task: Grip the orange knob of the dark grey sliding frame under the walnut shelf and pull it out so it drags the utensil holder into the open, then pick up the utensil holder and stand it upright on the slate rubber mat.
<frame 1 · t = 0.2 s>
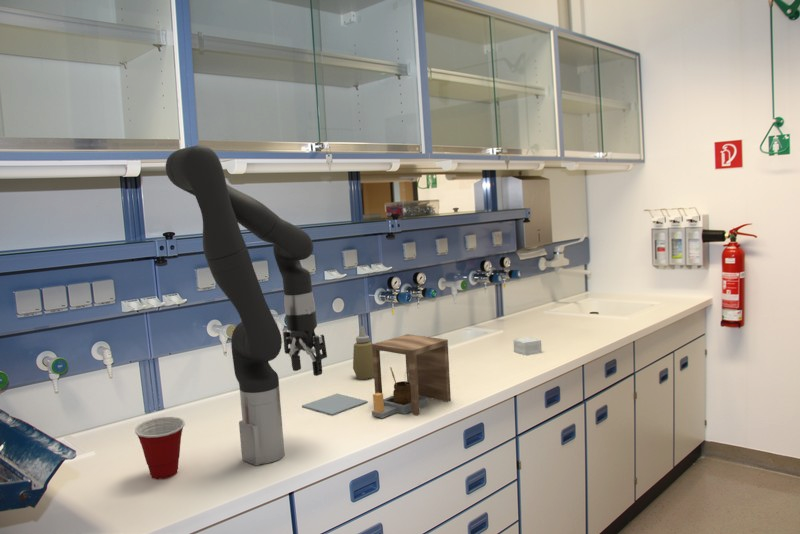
hand: (307, 372, 159), 17 cm above the countertop, tool pointing down, fingers open, 8 cm apart
plastic cup: (164, 475, 143), on the countertop
slate mat: (334, 404, 187), on the countertop
squeeze bottle: (365, 378, 215), on the countertop
walnut shelf: (403, 407, 181), on the countertop
small box: (527, 353, 237), on the countertop
sliding frame: (395, 398, 179), point 3 cm above the countertop, slide at 0.0 cm
utensil holder: (403, 407, 181), resting in sliding frame
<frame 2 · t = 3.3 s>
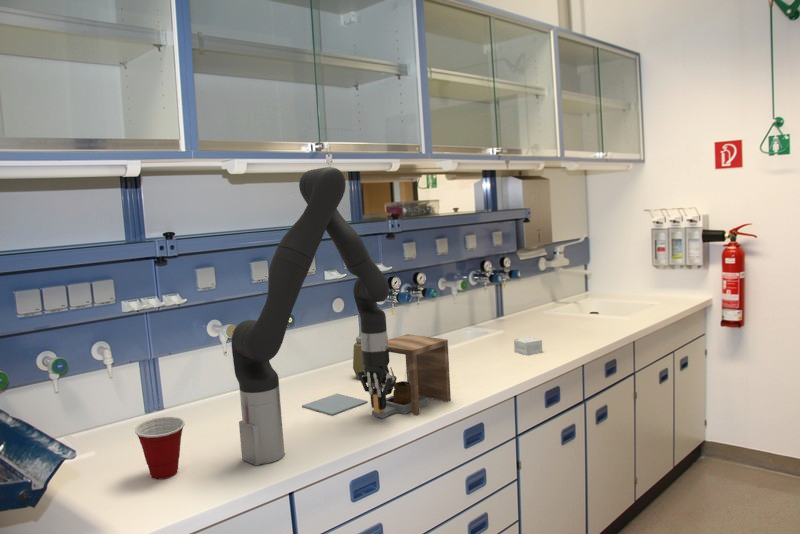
hand: (378, 407, 174), 3 cm above the countertop, tool pointing down, fingers closed on sliding frame, 2 cm apart
sliding frame: (395, 398, 179), point 3 cm above the countertop, slide at 0.0 cm, touching gripper
everything else where it was.
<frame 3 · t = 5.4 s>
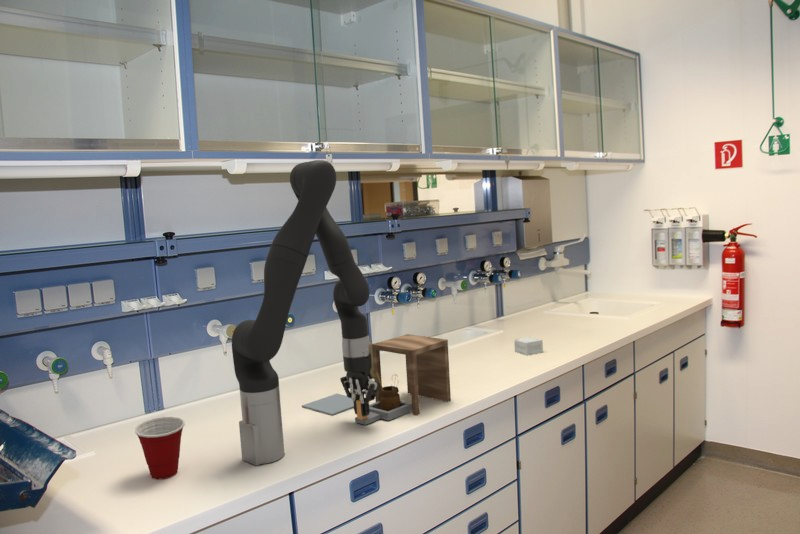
hand: (362, 414, 169), 3 cm above the countertop, tool pointing down, fingers closed on sliding frame, 2 cm apart
sliding frame: (380, 404, 174), point 3 cm above the countertop, slide at 6.4 cm, touching gripper, utensil holder
utensil holder: (390, 413, 177), resting in sliding frame
everything else where it was.
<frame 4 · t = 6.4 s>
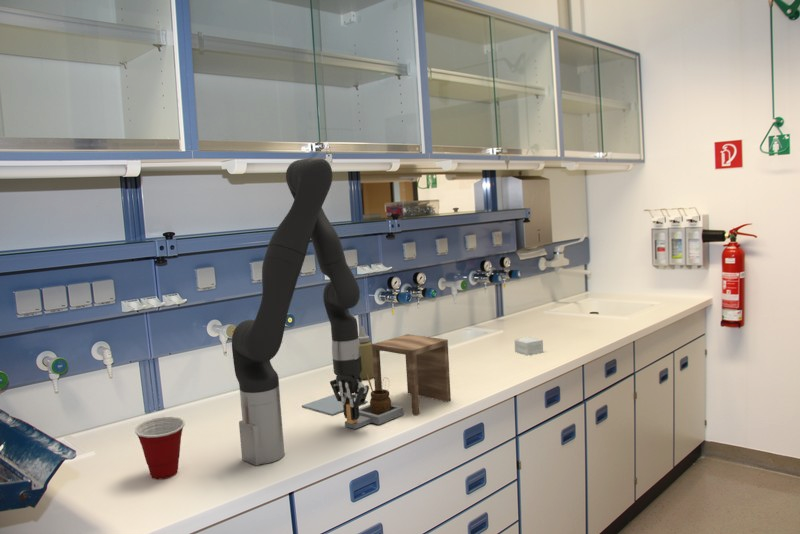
hand: (351, 418, 166), 3 cm above the countertop, tool pointing down, fingers closed on sliding frame, 2 cm apart
sliding frame: (370, 408, 171), point 3 cm above the countertop, slide at 10.2 cm, touching gripper, utensil holder
utensil holder: (380, 416, 174), resting in sliding frame
everything else where it was.
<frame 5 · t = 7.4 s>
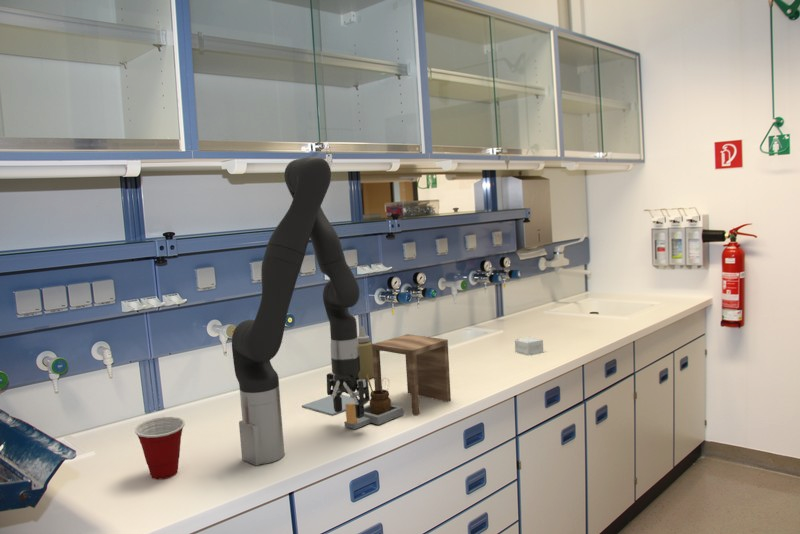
hand: (349, 414, 166), 4 cm above the countertop, tool pointing down, fingers open, 8 cm apart
sliding frame: (370, 408, 171), point 3 cm above the countertop, slide at 10.3 cm
utensil holder: (380, 417, 174), resting in sliding frame
everything else where it was.
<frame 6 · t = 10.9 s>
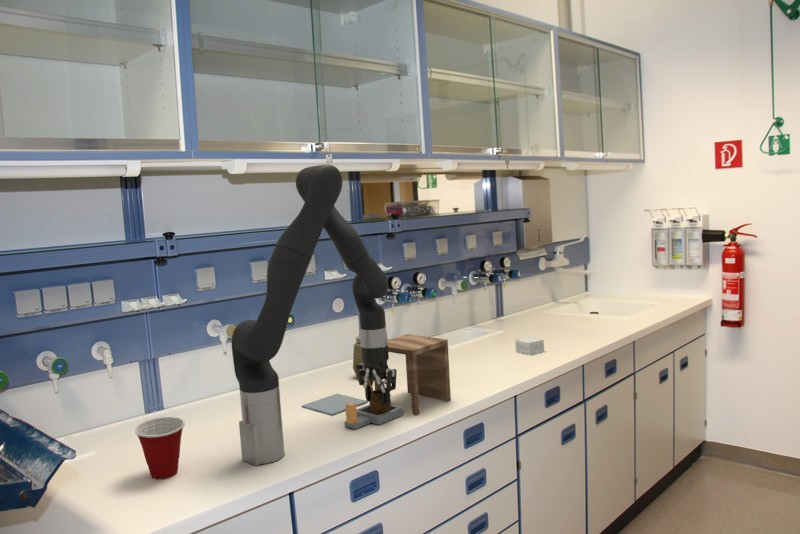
hand: (378, 402, 173), 4 cm above the countertop, tool pointing down, fingers closed on utensil holder, 6 cm apart
sliding frame: (370, 408, 171), point 3 cm above the countertop, slide at 10.3 cm, touching utensil holder
utensil holder: (380, 417, 174), resting in sliding frame, touching gripper
everything else where it was.
when the fingers open (6 cm above the countertop, at t = 16.7 s): utensil holder drops 1 cm, resting on slate mat.
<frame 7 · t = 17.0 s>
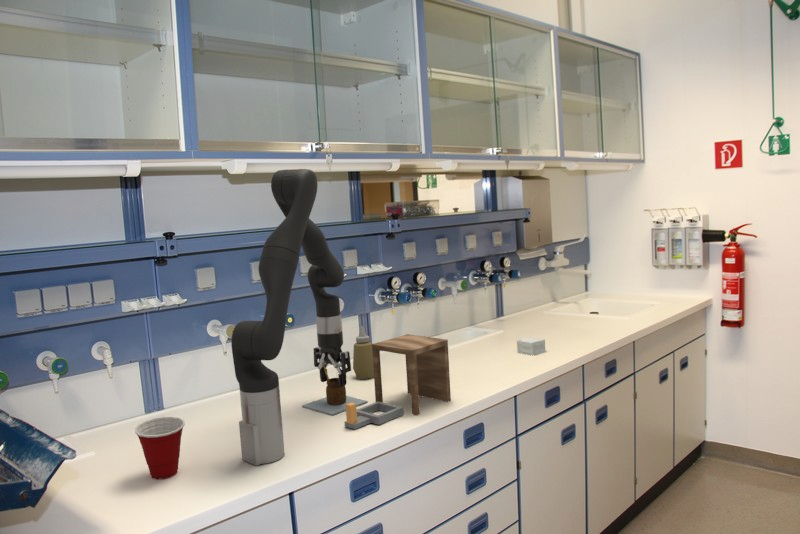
hand: (333, 383, 186), 7 cm above the countertop, tool pointing down, fingers open, 8 cm apart
sliding frame: (370, 408, 171), point 3 cm above the countertop, slide at 10.2 cm
utensil holder: (336, 403, 188), resting on slate mat
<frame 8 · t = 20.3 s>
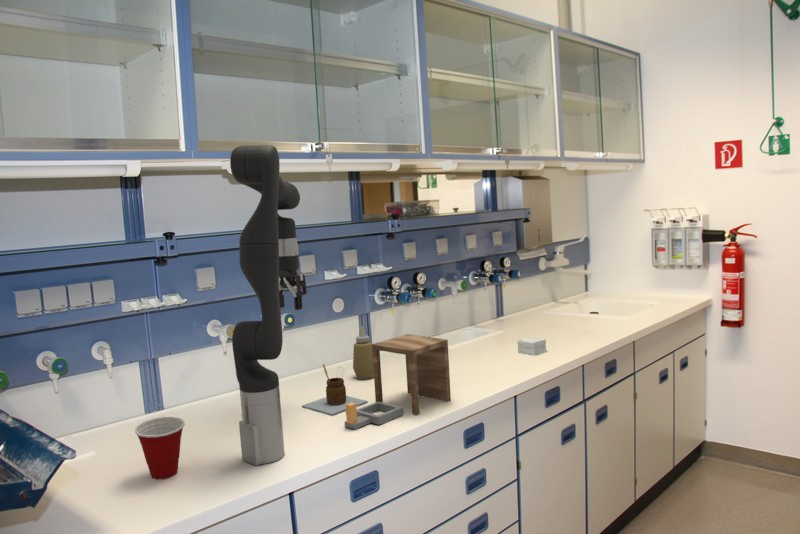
hand: (289, 308, 184), 30 cm above the countertop, tool pointing down, fingers open, 8 cm apart
at the end: utensil holder inside the target area (0.7 cm from its centre), resting on slate mat; utensil holder tilted 0°; sliding frame slide at 10.2 cm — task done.
